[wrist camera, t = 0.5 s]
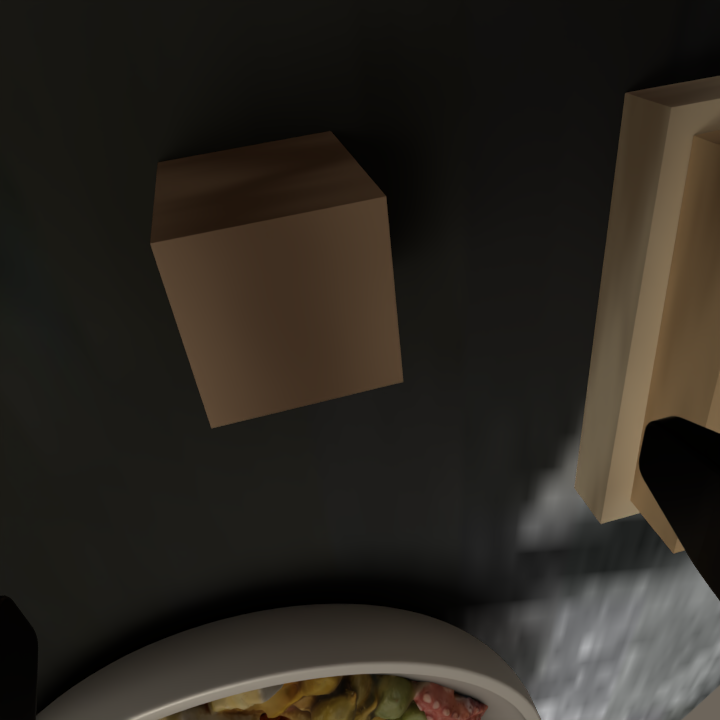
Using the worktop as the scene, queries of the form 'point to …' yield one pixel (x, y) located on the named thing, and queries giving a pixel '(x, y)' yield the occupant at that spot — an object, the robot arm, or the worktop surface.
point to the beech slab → (637, 282)
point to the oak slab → (689, 320)
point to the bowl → (305, 672)
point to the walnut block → (277, 275)
